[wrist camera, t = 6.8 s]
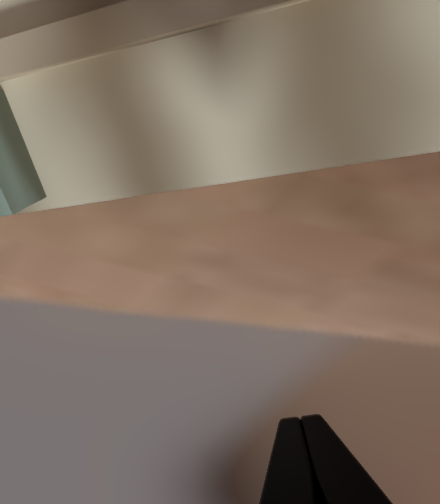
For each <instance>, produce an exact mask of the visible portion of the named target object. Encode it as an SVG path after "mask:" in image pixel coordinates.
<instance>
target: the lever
mask: <svg viewBox="0 0 440 504" xmlns="http://www.w3.org/2000/svg"><path fill="white" fill-rule="evenodd" d="M438 151H440V0H0V216H7V215H13V214H20V213H27V212H33V211H40V210H47V209H54V208H60V207H67V206H74V205H81V204H87V203H94V202H101V201H108V200H114V199H121V198H128V197H135V196H141V195H148V194H155V193H162V192H168V191H175V190H182V189H189V188H195V187H202V186H209V185H215V184H222V183H229V182H236V181H242V180H249V179H256V178H263V177H269V176H276V175H283V174H290V173H296V172H303V171H310V170H317V169H323V168H330V167H337V166H344V165H350V164H357V163H364V162H371V161H377V160H384V159H391V158H397V157H404V156H411V155H418V154H424V153H431V152H438Z"/></svg>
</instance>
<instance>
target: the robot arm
mask: <svg viewBox="0 0 440 504" xmlns="http://www.w3.org/2000/svg"><path fill="white" fill-rule="evenodd" d="M259 504H392V502H391V501H390V500H389V499H388V497H387V496H386V495H385V494H384V492H383V491H382V490H381V489H380V487H379V486H378V485H377V484H376V483H375V481H374V480H373V479H372V478H371V476H369V474H368V473H367V471H366V470H365V469H364V468H363V467H362V465H361V464H360V463H359V462H358V460H357V459H356V458H355V457H354V455H353V454H352V453H351V452H350V451H349V449H348V448H347V447H346V446H345V444H344V443H343V442H342V441H341V439H340V438H339V437H338V436H337V435H336V433H335V432H334V431H333V430H332V429H331V427H330V426H329V425H328V423H327V422H326V421H325V420H324V418H322V416H321V415H319V414H314V415H305V416H302V417H301V419H299V418H298V417H289V418H283V419H281V420H280V421H279V424H278V428H277V432H276V437H275V440H274V445H273V449H272V453H271V457H270V461H269V465H268V469H267V473H266V477H265V481H264V485H263V489H262V493H261V497H260V502H259Z"/></svg>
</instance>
